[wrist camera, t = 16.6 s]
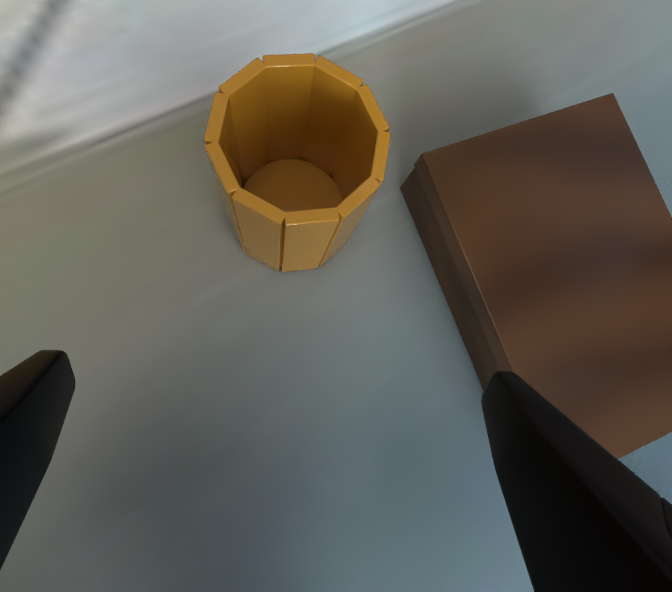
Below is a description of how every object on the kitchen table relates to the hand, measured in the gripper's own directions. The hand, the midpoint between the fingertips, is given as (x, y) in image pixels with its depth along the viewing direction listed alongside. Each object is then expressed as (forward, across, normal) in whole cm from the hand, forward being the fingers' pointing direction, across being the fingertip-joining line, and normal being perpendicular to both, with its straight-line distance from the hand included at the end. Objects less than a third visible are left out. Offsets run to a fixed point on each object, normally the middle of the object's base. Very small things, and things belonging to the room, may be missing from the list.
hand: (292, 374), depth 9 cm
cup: (+15, 0, +3) cm, 15 cm away
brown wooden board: (+13, -14, +6) cm, 20 cm away
